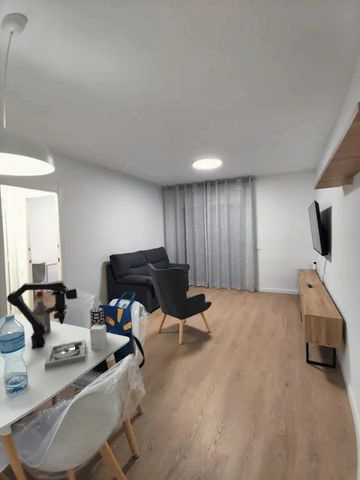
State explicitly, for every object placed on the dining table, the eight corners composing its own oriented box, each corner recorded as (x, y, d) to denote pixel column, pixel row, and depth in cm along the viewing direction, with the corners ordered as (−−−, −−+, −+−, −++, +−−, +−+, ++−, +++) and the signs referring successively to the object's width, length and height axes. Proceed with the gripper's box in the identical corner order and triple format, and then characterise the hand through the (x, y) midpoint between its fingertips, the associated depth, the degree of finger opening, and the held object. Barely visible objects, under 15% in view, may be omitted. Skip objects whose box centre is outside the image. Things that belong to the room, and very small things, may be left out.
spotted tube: (97, 343, 154) (95, 313, 153) (89, 340, 159) (87, 310, 157) (107, 337, 161) (106, 308, 160) (99, 335, 166) (97, 306, 164)
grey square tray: (44, 369, 128) (44, 363, 127) (50, 351, 146) (49, 345, 146) (85, 360, 135) (84, 355, 135) (85, 344, 153) (85, 339, 153)
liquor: (41, 329, 177) (38, 289, 175) (52, 329, 176) (49, 289, 174) (31, 335, 168) (28, 293, 166) (43, 335, 167) (40, 293, 165)
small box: (107, 344, 153) (106, 324, 152) (104, 349, 147) (102, 328, 146) (94, 344, 153) (93, 324, 152) (90, 349, 147) (89, 329, 146)
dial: (52, 362, 131) (51, 354, 131) (54, 349, 144) (54, 343, 144) (79, 356, 137) (79, 348, 136) (79, 344, 150) (79, 338, 149)
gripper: (48, 298, 161) (49, 320, 163) (43, 307, 144) (45, 332, 145) (66, 295, 165) (68, 317, 167) (64, 304, 148) (65, 328, 149)
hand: (61, 323), depth 157 cm, fingers closed
